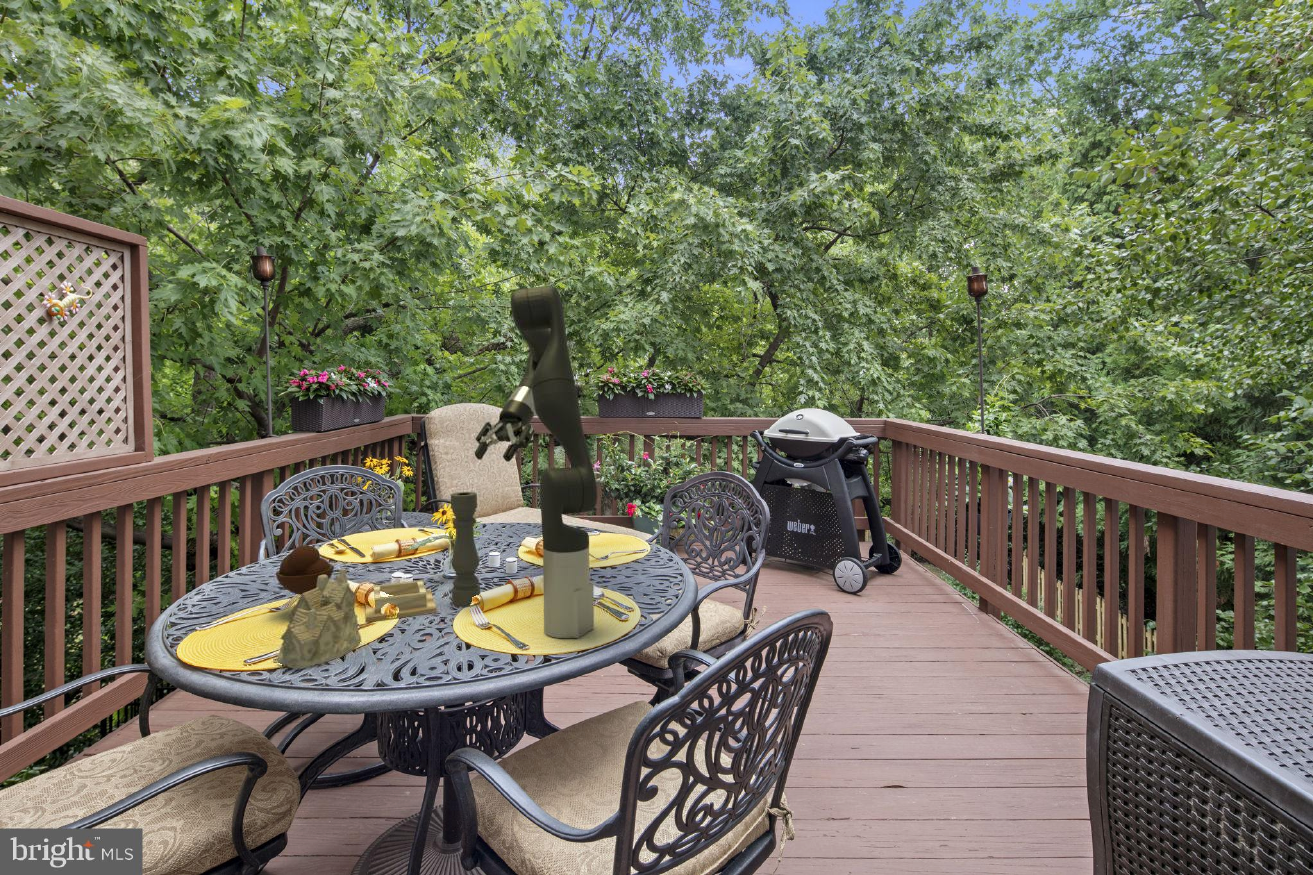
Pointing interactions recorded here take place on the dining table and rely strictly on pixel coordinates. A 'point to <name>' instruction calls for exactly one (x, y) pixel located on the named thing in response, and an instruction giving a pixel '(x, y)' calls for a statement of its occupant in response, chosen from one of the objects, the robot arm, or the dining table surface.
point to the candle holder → (464, 549)
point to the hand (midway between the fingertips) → (491, 458)
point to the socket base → (402, 600)
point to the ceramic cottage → (321, 625)
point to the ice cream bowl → (302, 569)
